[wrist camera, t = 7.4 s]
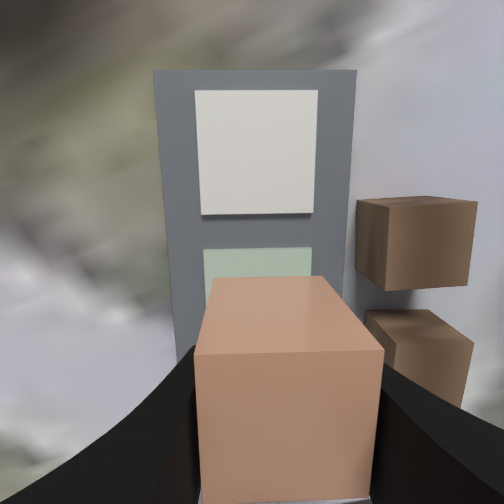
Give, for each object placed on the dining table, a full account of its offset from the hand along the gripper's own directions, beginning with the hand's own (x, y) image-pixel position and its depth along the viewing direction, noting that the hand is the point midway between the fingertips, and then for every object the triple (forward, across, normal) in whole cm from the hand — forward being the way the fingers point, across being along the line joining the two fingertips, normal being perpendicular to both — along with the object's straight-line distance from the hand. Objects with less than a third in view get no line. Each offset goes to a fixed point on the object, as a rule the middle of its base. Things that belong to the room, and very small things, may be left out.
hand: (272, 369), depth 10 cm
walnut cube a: (+9, -8, -3) cm, 12 cm away
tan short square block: (+2, 0, -1) cm, 2 cm away
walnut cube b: (+9, -9, +4) cm, 13 cm away
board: (+8, 0, +1) cm, 9 cm away
